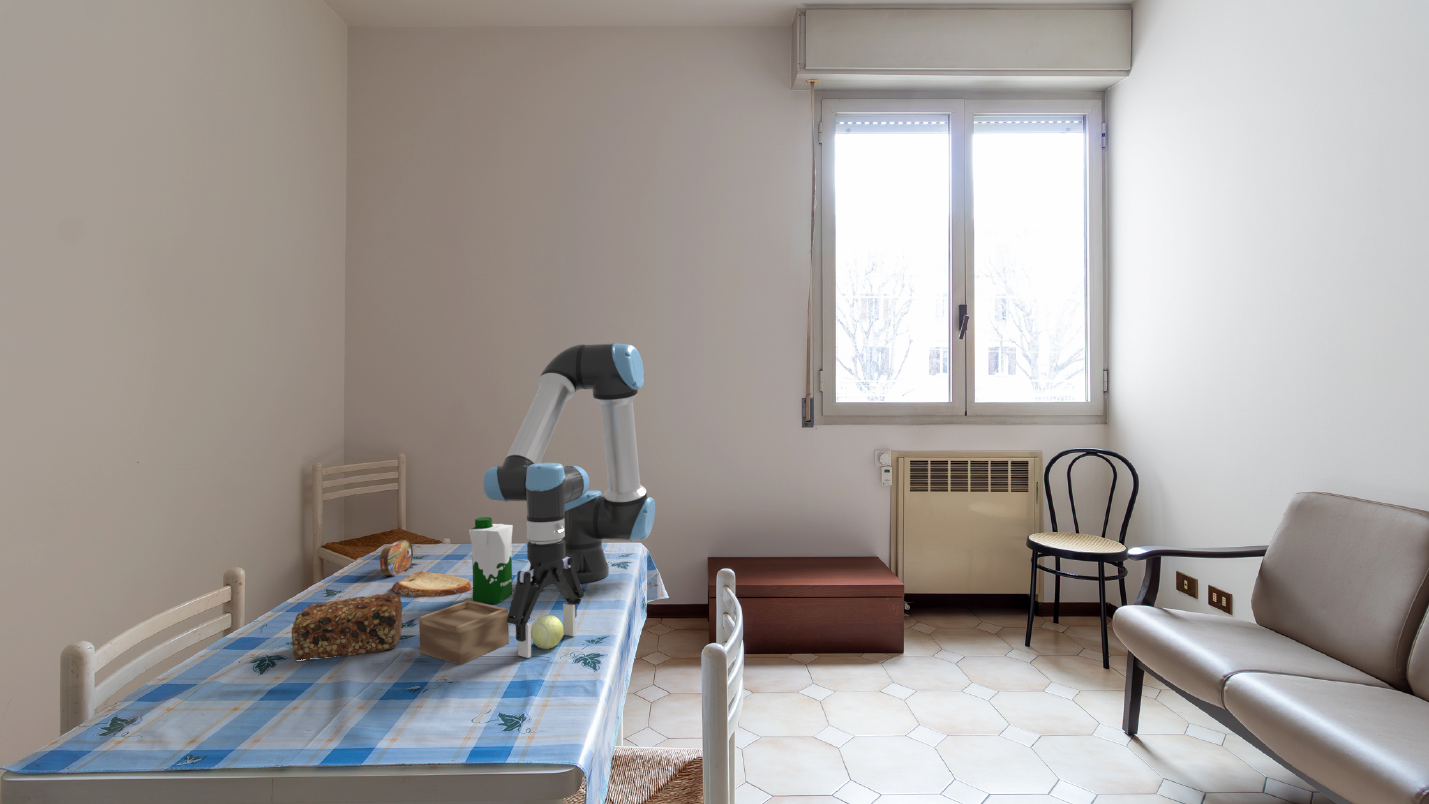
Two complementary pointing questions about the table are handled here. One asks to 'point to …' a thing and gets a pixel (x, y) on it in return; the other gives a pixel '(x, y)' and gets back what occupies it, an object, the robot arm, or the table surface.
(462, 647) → the wooden box
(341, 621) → the bread
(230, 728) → the table surface
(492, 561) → the milk carton
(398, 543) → the tin
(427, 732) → the table surface
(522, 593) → the robot arm
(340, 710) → the table surface
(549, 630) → the tennis ball
